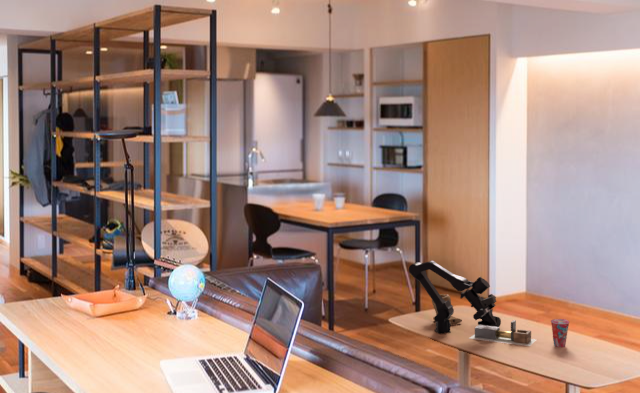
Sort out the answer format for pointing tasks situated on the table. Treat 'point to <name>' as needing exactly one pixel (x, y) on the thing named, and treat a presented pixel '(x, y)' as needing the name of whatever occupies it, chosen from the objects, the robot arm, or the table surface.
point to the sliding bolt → (507, 334)
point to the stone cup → (452, 319)
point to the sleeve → (486, 332)
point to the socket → (522, 336)
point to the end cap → (490, 323)
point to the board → (504, 340)
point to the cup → (559, 331)
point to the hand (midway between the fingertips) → (496, 324)
